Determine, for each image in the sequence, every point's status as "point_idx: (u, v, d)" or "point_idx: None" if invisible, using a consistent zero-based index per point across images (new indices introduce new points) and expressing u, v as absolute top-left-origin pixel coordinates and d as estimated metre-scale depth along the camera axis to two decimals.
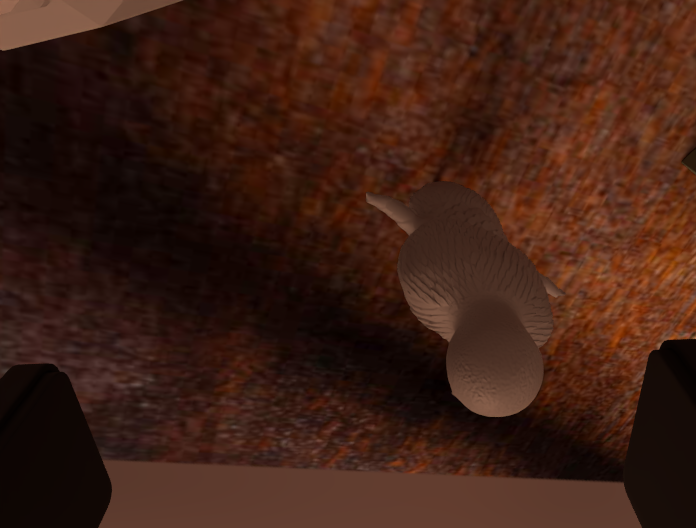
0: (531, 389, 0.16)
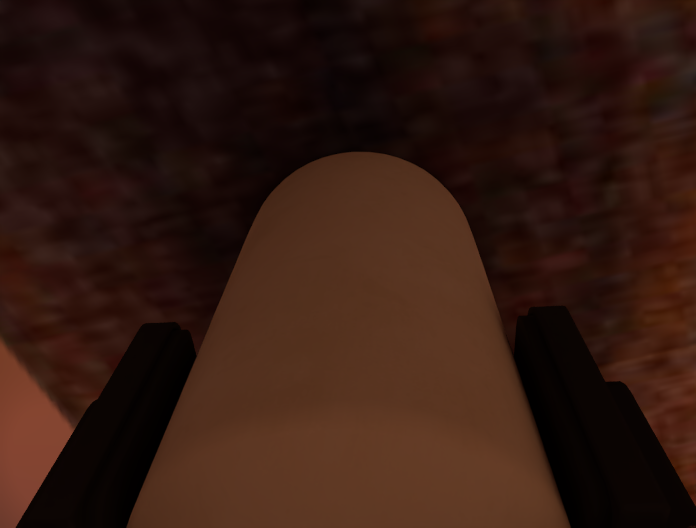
0: None
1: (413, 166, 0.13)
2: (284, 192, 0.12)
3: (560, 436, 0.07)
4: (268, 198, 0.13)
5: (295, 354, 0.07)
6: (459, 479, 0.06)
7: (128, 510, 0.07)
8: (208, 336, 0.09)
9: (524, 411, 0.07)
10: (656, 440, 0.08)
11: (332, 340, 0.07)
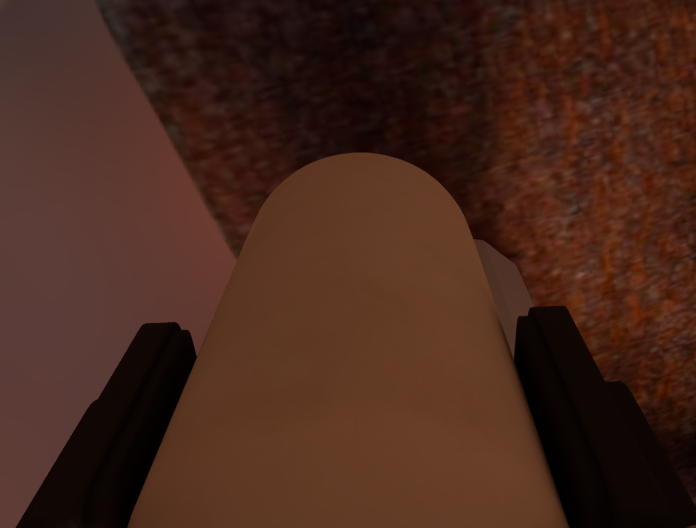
0: None
1: (413, 167, 0.13)
2: (284, 193, 0.12)
3: (560, 436, 0.07)
4: (268, 199, 0.13)
5: (295, 354, 0.07)
6: (458, 479, 0.06)
7: (128, 510, 0.07)
8: (208, 337, 0.09)
9: (523, 411, 0.07)
10: (656, 440, 0.08)
11: (331, 341, 0.07)
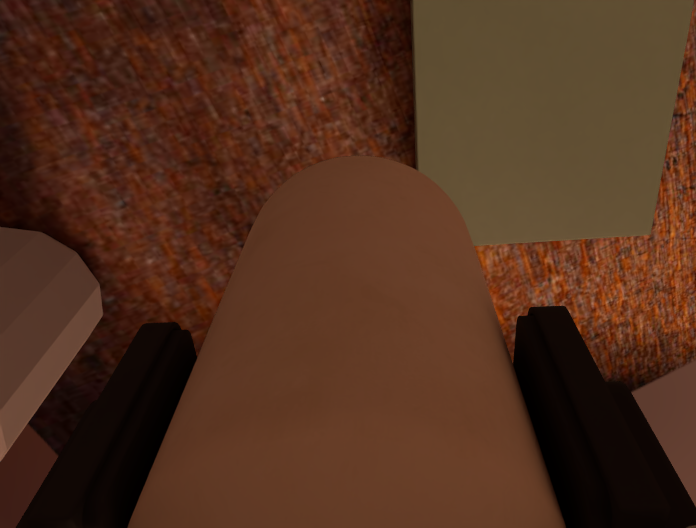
0: None
1: (412, 170, 0.13)
2: (283, 196, 0.12)
3: (560, 436, 0.07)
4: (267, 202, 0.13)
5: (293, 361, 0.07)
6: (456, 486, 0.06)
7: (128, 510, 0.07)
8: (207, 341, 0.09)
9: (522, 417, 0.07)
10: (656, 440, 0.08)
11: (329, 346, 0.07)
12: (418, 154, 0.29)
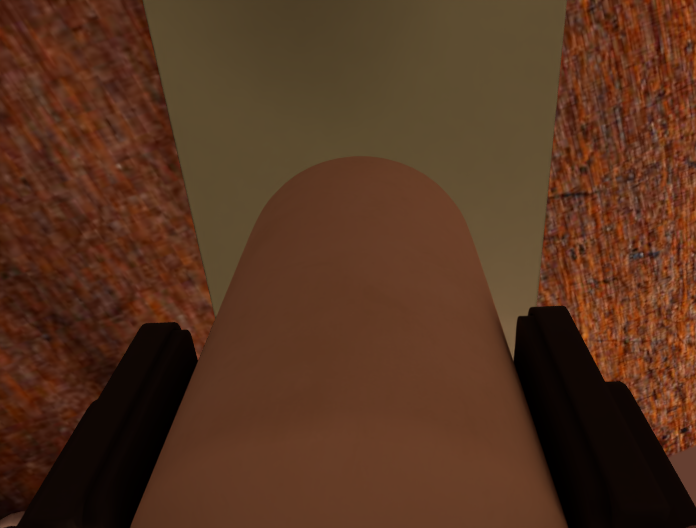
0: None
1: (413, 170, 0.13)
2: (284, 197, 0.12)
3: (560, 436, 0.07)
4: (268, 202, 0.13)
5: (295, 362, 0.07)
6: (459, 488, 0.06)
7: (128, 510, 0.07)
8: (209, 342, 0.09)
9: (524, 418, 0.07)
10: (656, 440, 0.08)
11: (332, 348, 0.07)
12: (203, 259, 0.21)
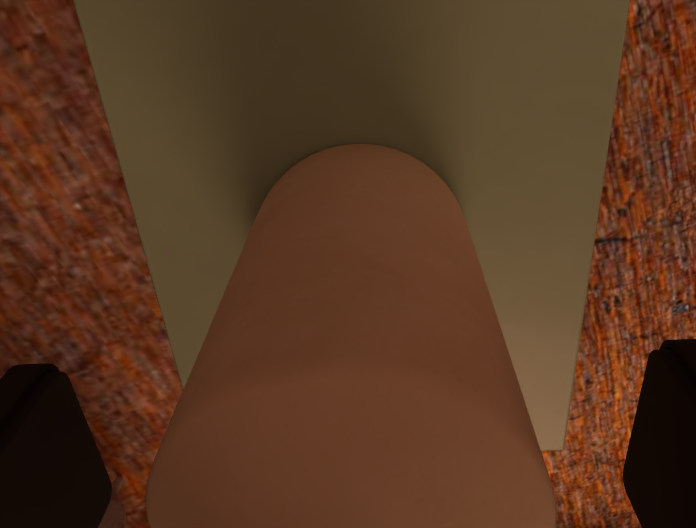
0: None
1: (410, 157, 0.14)
2: (288, 181, 0.13)
3: None
4: (273, 187, 0.14)
5: (300, 320, 0.08)
6: (446, 424, 0.06)
7: None
8: (219, 310, 0.10)
9: (508, 374, 0.08)
10: None
11: (333, 307, 0.08)
12: (167, 331, 0.17)
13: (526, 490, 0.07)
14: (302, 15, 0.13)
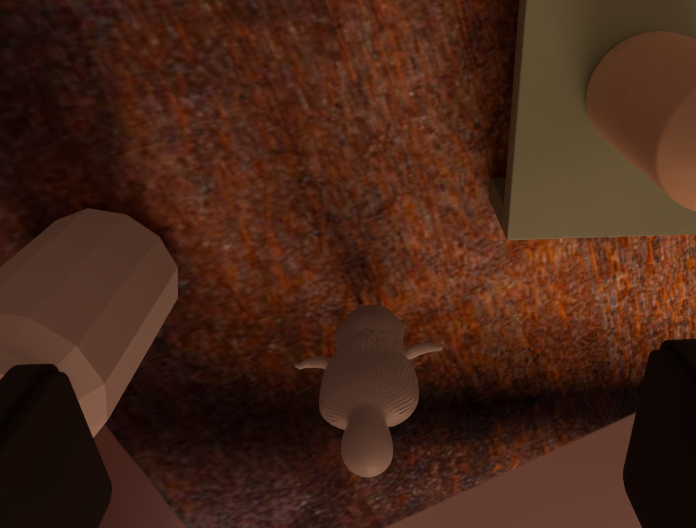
0: (377, 456, 0.29)
1: None
2: (632, 45, 0.26)
3: None
4: (613, 52, 0.27)
5: None
6: None
7: None
8: (651, 79, 0.22)
9: None
10: None
11: None
12: (515, 148, 0.30)
13: None
14: None
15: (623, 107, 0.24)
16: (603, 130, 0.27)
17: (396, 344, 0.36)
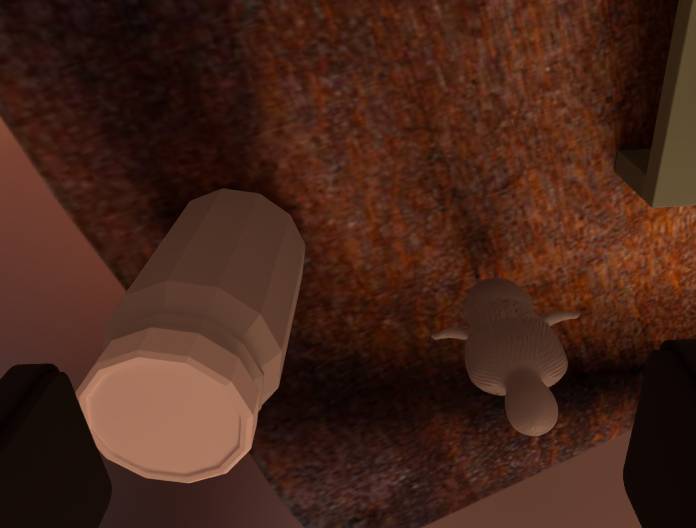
0: (548, 414, 0.30)
1: None
2: None
3: None
4: None
5: None
6: None
7: None
8: None
9: None
10: None
11: None
12: (670, 116, 0.31)
13: None
14: None
15: None
16: None
17: (533, 313, 0.37)
